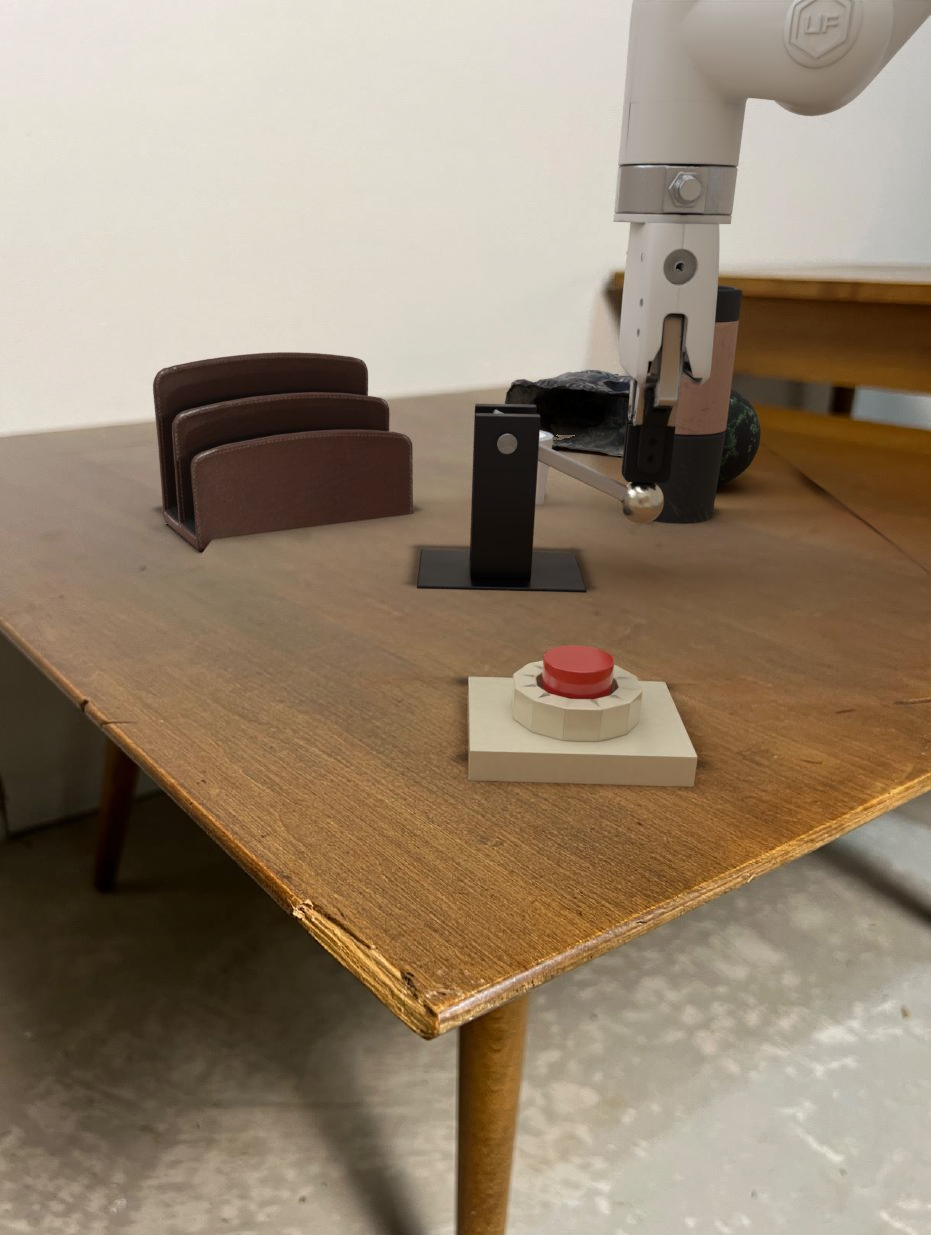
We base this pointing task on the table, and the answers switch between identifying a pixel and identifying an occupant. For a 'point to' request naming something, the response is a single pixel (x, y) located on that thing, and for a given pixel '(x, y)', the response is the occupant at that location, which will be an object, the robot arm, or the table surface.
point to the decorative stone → (739, 438)
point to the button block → (576, 733)
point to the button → (577, 672)
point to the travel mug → (703, 424)
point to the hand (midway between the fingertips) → (644, 479)
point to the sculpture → (579, 408)
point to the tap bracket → (502, 515)
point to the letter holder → (275, 446)
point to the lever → (609, 486)
